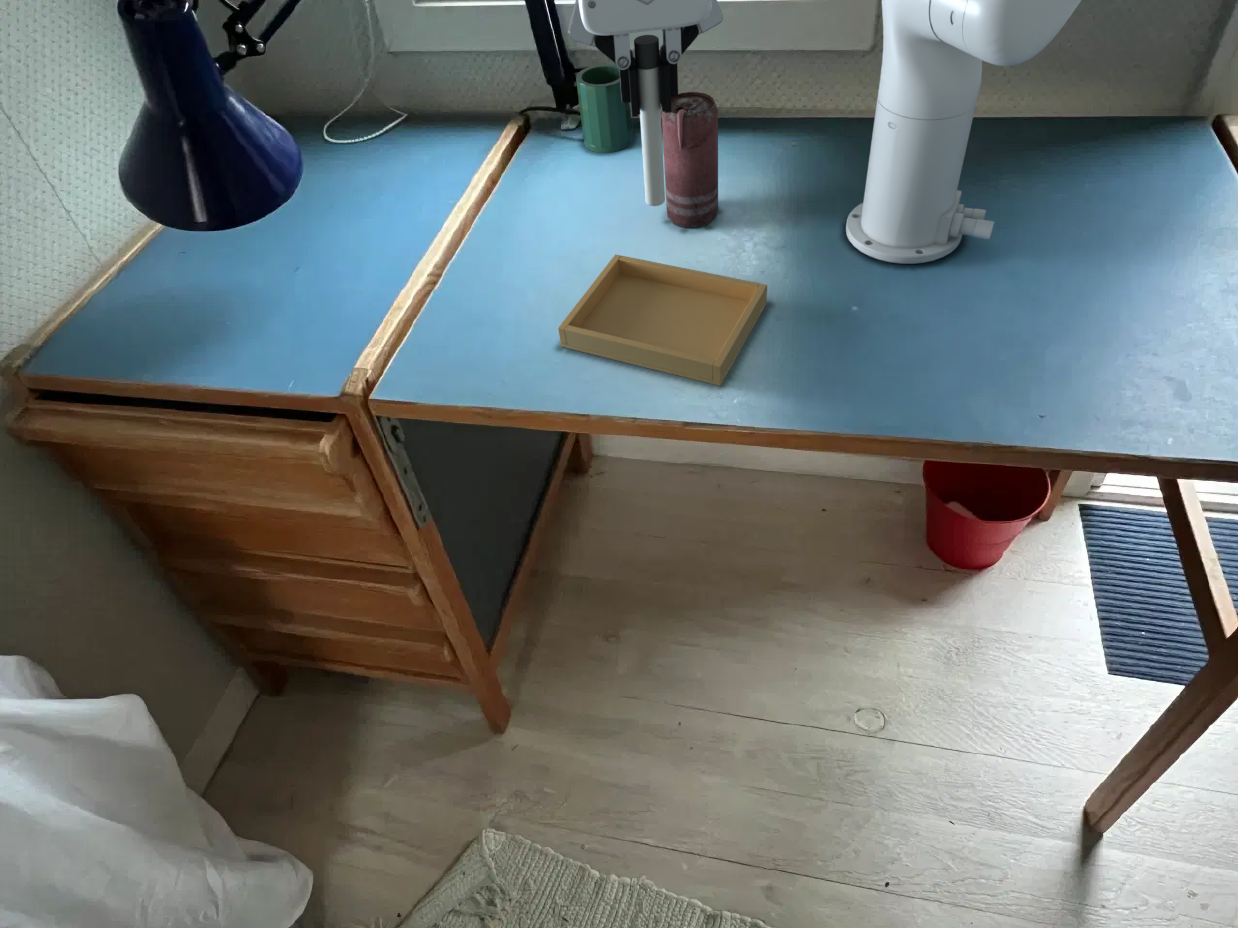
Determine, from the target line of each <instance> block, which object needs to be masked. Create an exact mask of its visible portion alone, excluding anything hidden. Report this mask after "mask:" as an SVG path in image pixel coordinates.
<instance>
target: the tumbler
mask: <svg viewBox="0 0 1238 928" xmlns="http://www.w3.org/2000/svg"><path fill="white" fill-rule="evenodd" d="M575 80H576V89H577V96H578V106H579V113H580V121H581V130H582V139H583V143H584V146H585V148H586V149H588V150H589V151H590V152H591V151H592V152H594V153H599V154H610V153H615V152H619V151H622V150H624V149H626V148H627V147H629V146H630V145H631V144H632V142H633V124H632V123H633V121H632V114H631V109H630V104H629V103H622V100H621V90H620V78H619V68H618V67H617V66H616V64H615V63H601V64H595V65H590V66H588V67H585V68H583V69H581V70H580V71H579V72H578V73H577V74H576V79H575Z"/></svg>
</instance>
